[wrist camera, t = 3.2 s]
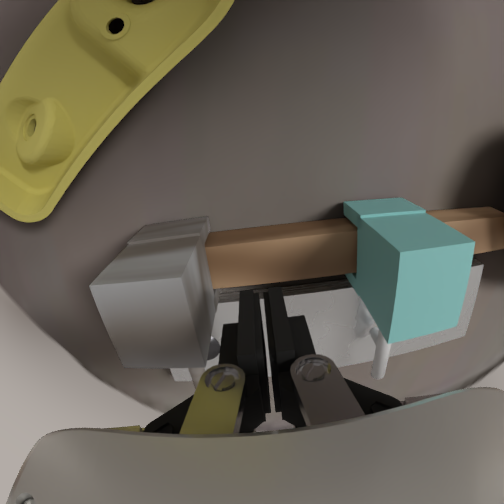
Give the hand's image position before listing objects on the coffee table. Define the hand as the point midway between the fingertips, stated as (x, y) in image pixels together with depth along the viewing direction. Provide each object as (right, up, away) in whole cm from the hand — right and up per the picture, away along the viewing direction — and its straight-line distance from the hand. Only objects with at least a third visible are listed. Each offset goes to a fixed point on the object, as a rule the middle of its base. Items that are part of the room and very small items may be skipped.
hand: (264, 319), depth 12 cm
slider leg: (+8, +1, +7) cm, 10 cm away
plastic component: (-11, +15, +2) cm, 18 cm away
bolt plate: (+5, -2, +9) cm, 10 cm away
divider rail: (+6, +1, +7) cm, 10 cm away
